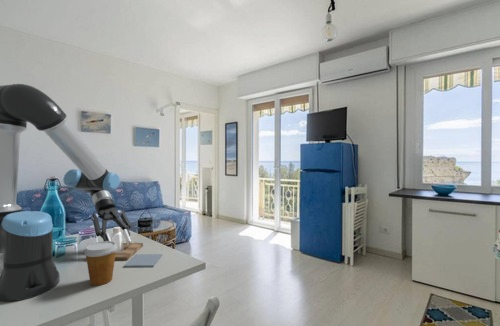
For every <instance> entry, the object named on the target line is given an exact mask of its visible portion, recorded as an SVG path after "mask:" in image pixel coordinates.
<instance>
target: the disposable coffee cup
mask: <svg viewBox="0 0 500 326" xmlns="http://www.w3.org/2000/svg"><path fill="white" fill-rule="evenodd" d="M116 249H117V245H116V243H115V242H113V241H103V240H102V241H97V242H94V243H93V242H92V243H90V244H88V245H87V246H86V247H85V249H84V251H83V253H84V254H85V257H86V258H85V259H86V265H87V270H88V277H89V283H90V285H91V286H96V287H97V286H102V285H105V284H108V283H110V282H111V281H113V275H114V268H115V261H116V260H115V253H116Z"/></svg>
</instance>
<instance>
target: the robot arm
mask: <svg viewBox="0 0 500 326" xmlns="http://www.w3.org/2000/svg"><path fill="white" fill-rule="evenodd" d="M28 123H30V124H31V125H32V126H34V127H35V128H36V129H37V131H39V132H44V134H46V135H47V136H48V137H49V138H50V139H51V141H52V142H53V143H54V144H55V145H56V146H57V147H58V148H59V149H60V150H61V152H62V153H64V154H65V156H66V157H67V158H68V159H69V160H70V161H71V162H72V163H73V164H74V165H75V166H76V167H77V168H78V169H74V168H73V169H70V170H68V171H67V172H65V174H64V176H63V179H62V180H63V183H64V185H66V186H67V187H70V188H72V189H73V188H74V189H76V190H80V191H83V192H84V193H89V194H90V197H91V200H92V203H93V205H94V207H95V211H96V213H92V214H91V217H90V219H91V220H92V222H93V227H94V232H95V237H100V238H102V241H111V239H112V237H111V236H110V234H109V232H107V225H108V224H107V223H108V221H112V222H115V224H117V226H118V227H120V230H122V236H124V237H123V238H124V239H125V243H127V245H129V244H130V243H132V240H131V232H130V230H131V228H132V225H133V224H132V223H131V222H130V220H129V217H127V216H128V215H126V213H125V212H126V211H125V209H123V208H122V209H121V210H118V208H116V205H115V203H114V200H113V198H112V194H111V192H110V191H114V190H116V189H117V188H118V187H119V185H120V183H121V178H120V176H119V175H118V173H116V172H109V171H108V169H107V168H106V167H105V165H103V163H102V162H101V161H100V160H99V158H98V157H97V156H96V155H95V154H94V152H93V151H92V149H90V147H89V146H88V144H87V143H85V141H84V140H83V139H82V137H81V136H80V135H79V134H78V132H77V131H76V130H75V128H74V127H73V126H72V125H71V124H70V122H69V121H68V120H67V114H66V113H65V111H64V110H63V109H62V108H61V107H60V106H59V105H58V104H57V102H55V100H53V99H52V98H51V97H50V96H48V95H47V94H46V93H44V92H43V91H42V90H40V89H39V88H36V87H35V86H32V85H28V84H25V83H13V84H5V85H2V84H1V85H0V254H1V255H2V271H1V274H0V301H1V302H14V301H20V300H25V299H29V298H33V297H36V296H39V295H41V294H44V293H46V292H48V291H51V290H52V289H54V288H55V287H56V286H57V285H58V284H59V283H60V281H61V279H60V272H59V270H58V269H57V266H56V264H55V262H54V258H53V256H54V255H53V247H54V245H53V242H54V241H53V234H54V233H53V232H54V231H53V230H54V224H53V220H52V219H53V218H52V216H51V215H50V214H49V213H47V212H44V211H38V210H37V211H36V210H33V211H32V210H31V211H30V210H24V211H22V209H23V208H22V206H20V205H18V204H17V203H18V202H17V195H18V179H19V178H18V176H19V159H20V144H21V143H20V142H21V134H22V133H23V132H25V131H26V130H27V125H28ZM99 218H100V219H101V226H100V222H99Z"/></svg>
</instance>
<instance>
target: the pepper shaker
mask: <svg viewBox="0 0 500 326" xmlns="http://www.w3.org/2000/svg"><path fill="white" fill-rule="evenodd" d="M112 230H113V231H112V232H113V233H111V241H113V242H115V243H116V245H117V249H116V253H121V252H123V251H124V250H123V243H124V242H123V233H122V232H121V228H120V226H115V227H113V228H112Z"/></svg>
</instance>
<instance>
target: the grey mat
mask: <svg viewBox="0 0 500 326" xmlns="http://www.w3.org/2000/svg"><path fill="white" fill-rule="evenodd" d="M161 256H162V257H163V254H162V253H151V254H150V253H141V254H140V253H139V254H137V253H135V254H134V255H133V256H131V257H130V258H129V259H128V260H127V262H126V263H125V264H124V265H123V268H154V267H155V266H156V264H157V263H158V262H159V260H160V259H162V257H161Z"/></svg>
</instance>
